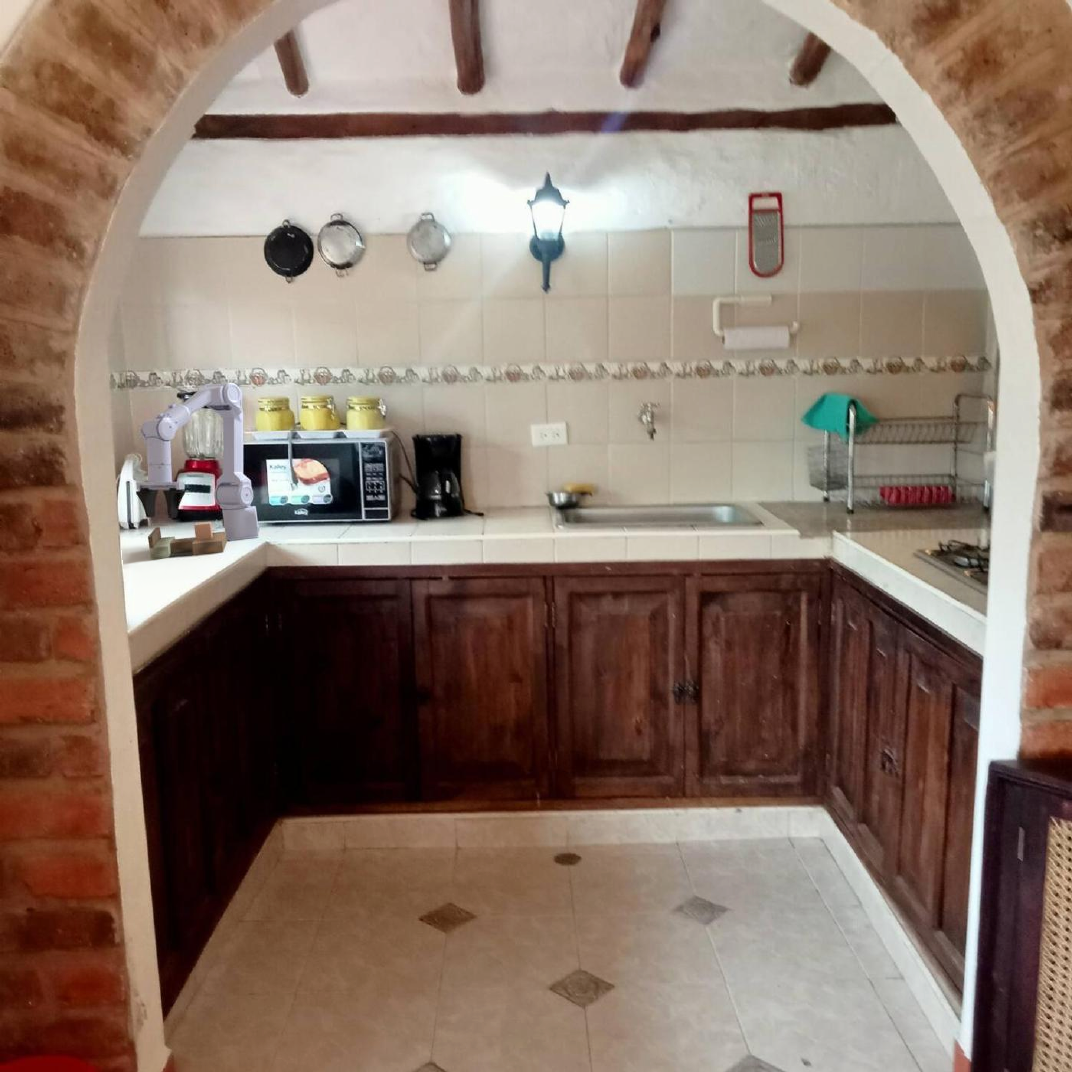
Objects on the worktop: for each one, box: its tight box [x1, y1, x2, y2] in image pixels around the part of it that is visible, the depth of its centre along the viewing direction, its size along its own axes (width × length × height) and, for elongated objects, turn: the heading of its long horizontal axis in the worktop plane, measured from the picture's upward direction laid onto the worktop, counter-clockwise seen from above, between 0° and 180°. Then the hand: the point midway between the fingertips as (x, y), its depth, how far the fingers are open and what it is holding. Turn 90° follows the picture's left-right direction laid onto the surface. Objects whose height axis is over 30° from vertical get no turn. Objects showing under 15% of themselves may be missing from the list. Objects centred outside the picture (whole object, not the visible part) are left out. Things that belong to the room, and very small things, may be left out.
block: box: [193, 521, 213, 540], centre depth 255 cm, size 4×4×4 cm
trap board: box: [147, 526, 228, 560], centre depth 254 cm, size 18×16×6 cm
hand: (161, 517), depth 245 cm, fingers open, 7 cm apart
